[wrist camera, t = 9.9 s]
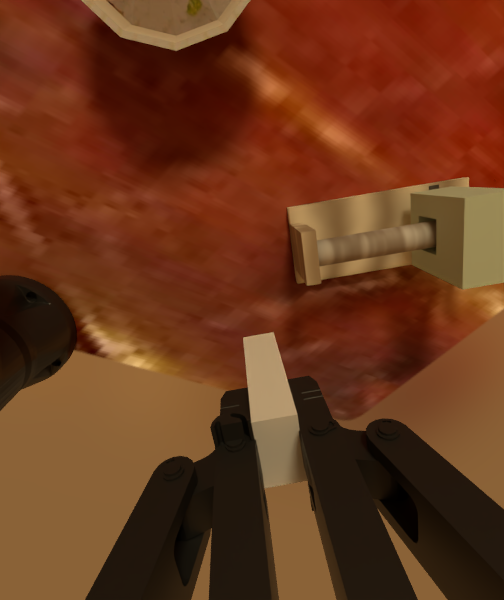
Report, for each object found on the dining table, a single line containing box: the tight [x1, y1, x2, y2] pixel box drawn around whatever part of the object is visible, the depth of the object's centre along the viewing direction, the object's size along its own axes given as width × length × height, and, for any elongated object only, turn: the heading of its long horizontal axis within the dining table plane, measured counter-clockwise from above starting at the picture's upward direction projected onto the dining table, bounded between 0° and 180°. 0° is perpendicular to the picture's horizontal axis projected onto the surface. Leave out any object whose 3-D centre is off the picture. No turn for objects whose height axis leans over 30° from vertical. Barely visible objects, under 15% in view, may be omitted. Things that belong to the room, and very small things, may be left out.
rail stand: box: [287, 178, 469, 286], centre depth 45 cm, size 23×10×9 cm, turn 99°
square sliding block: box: [410, 186, 504, 289], centre depth 41 cm, size 5×9×11 cm, turn 9°
